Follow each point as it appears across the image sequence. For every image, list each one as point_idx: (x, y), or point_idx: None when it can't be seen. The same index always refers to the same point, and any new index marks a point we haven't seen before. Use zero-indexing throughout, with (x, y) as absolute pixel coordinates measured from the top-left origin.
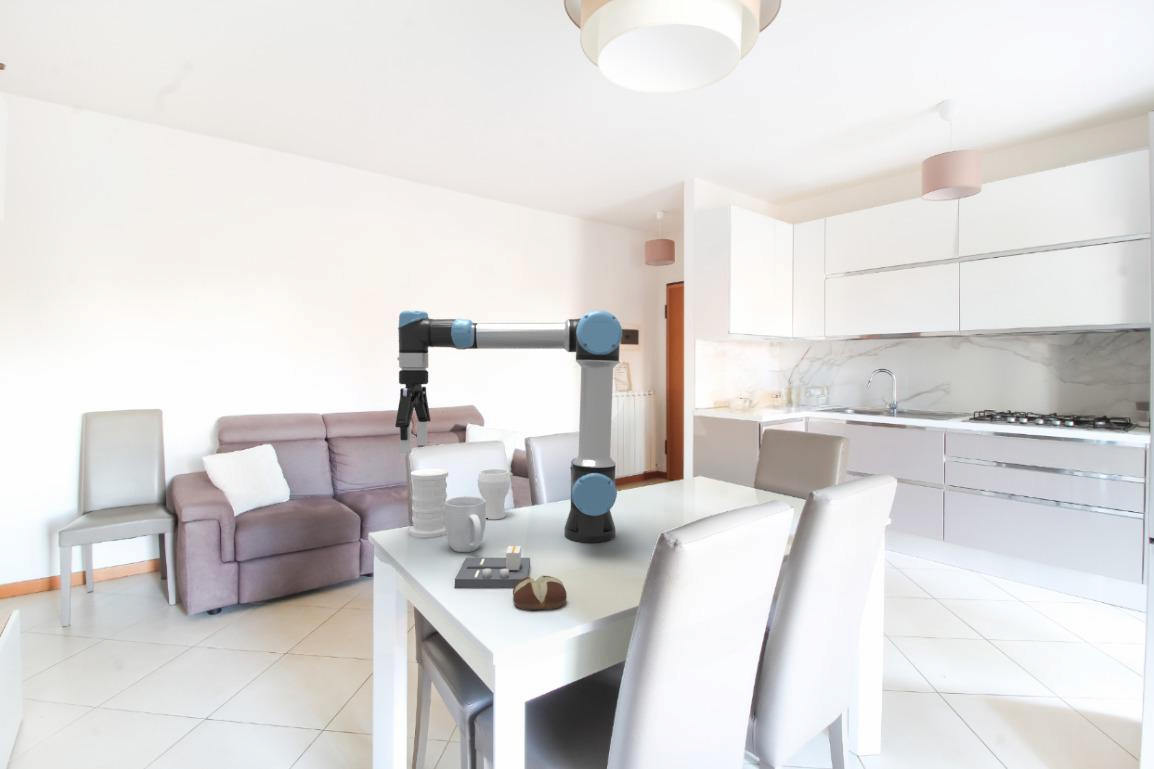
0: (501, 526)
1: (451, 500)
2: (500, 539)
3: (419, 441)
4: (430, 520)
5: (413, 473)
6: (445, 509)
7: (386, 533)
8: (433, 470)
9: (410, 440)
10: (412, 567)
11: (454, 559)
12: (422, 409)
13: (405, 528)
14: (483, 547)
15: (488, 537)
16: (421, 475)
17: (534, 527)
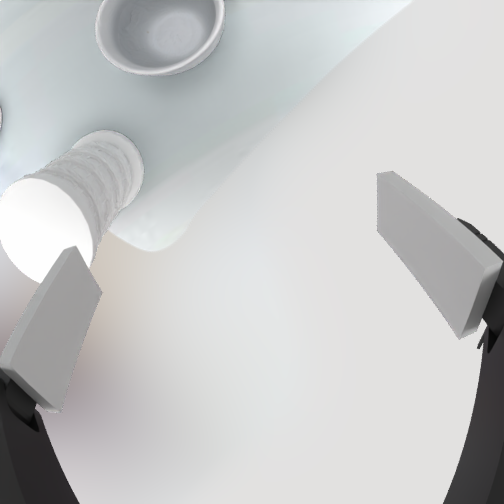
0: (27, 61)
1: (142, 69)
2: None
3: (88, 295)
4: (119, 158)
5: None
6: (203, 55)
7: (149, 241)
8: (19, 241)
9: (427, 205)
10: (313, 82)
11: (250, 25)
12: (32, 500)
13: None
14: None
15: None
16: (86, 230)
17: (20, 5)
